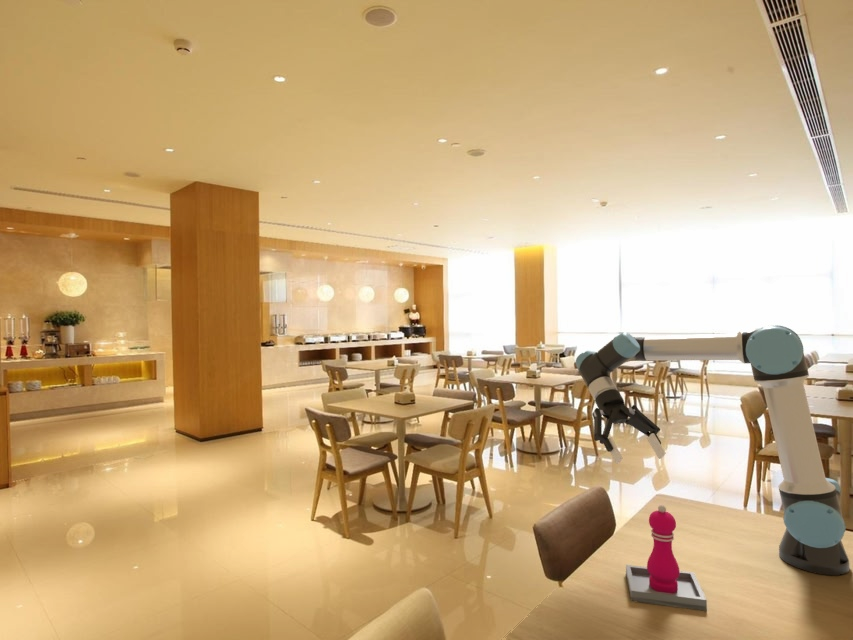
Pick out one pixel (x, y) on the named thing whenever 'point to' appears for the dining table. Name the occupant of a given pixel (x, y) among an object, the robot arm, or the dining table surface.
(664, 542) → the pepper mill
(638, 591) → the tray
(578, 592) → the dining table surface
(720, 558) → the dining table surface
